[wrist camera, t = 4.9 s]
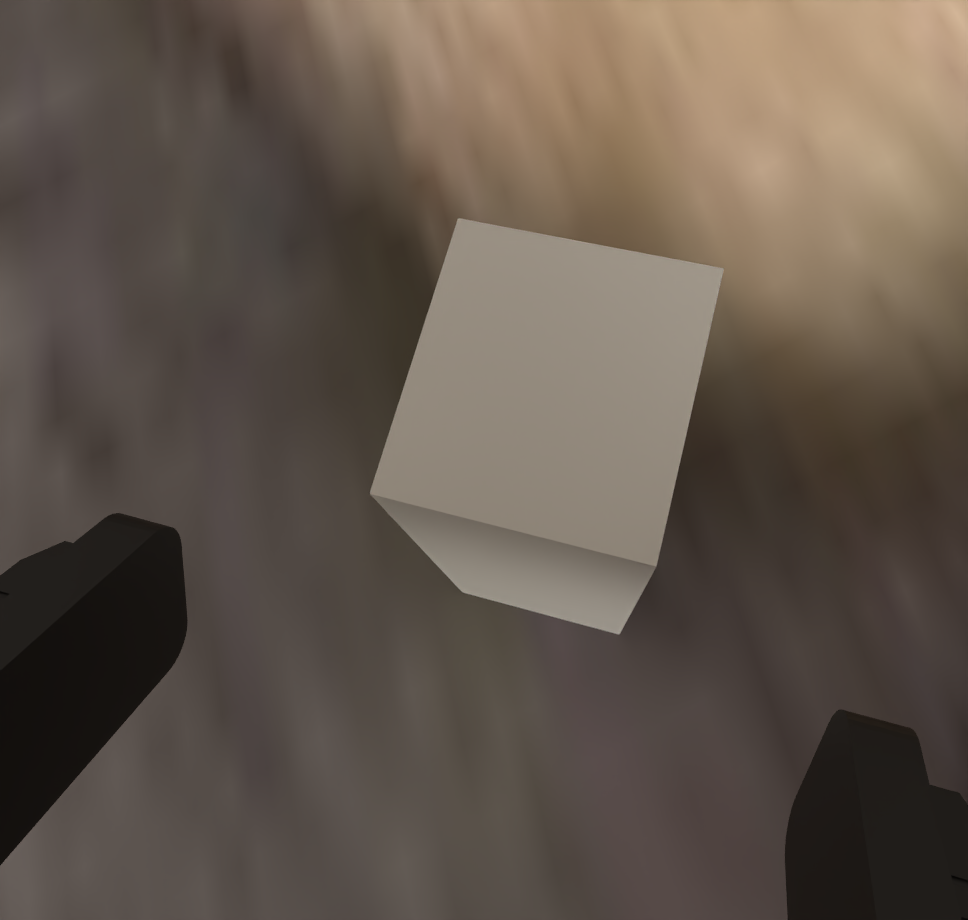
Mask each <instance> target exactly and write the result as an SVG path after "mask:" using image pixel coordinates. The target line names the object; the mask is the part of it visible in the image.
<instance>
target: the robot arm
mask: <svg viewBox="0 0 968 920" xmlns="http://www.w3.org/2000/svg"><path fill="white" fill-rule="evenodd" d="M186 631H187V609H186V596H185V584H184V571H183V558H182V546H181V539H180V536H179V534H178V532H177V531H176V530H175V529H174V528H172V527H169V526H165V525H162V524H158V523H154V522H150V521H147V520H143V519H139V518H136V517H132V516H128V515H124V514H120V513H116V514H112V515H109V516H107V517H106V518H104V519H103V520H102V521H100V522H99V523H98V524H97V525H95V526H94V527H93V528H92V529H90V530H89V531H88V532H87V533H85V534H84V535H83V536H82V537H80V538H79V539H78V540H77V541H75V542H74V543H70V542H67V541H64V542H62V543H59V544H57V545H55V546H52V547H50V548H48V549H45V550H43V551H41V552H38V553H36V554H34V555H31V556H29V557H27V558H24V559H22V560H20V561H19V562H17V563H16V564H15V565H13V566H12V567H11V568H10V569H8V570H7V571H6V572H4V573H3V574H2V575H0V865H1V864H2V863H3V862H4V860H5V859H6V858H7V857H8V856H9V855H10V853H11V852H12V851H13V850H14V849H15V848H16V847H17V845H18V844H19V843H20V842H21V841H22V840H23V838H24V837H25V836H26V835H27V834H28V833H29V832H30V830H31V829H32V828H33V827H34V826H35V825H36V823H37V822H38V821H39V820H40V819H41V818H42V817H43V815H44V814H45V813H46V812H47V811H48V810H49V808H50V807H51V806H52V805H53V804H54V803H55V802H56V800H57V799H58V798H59V797H60V796H61V795H62V793H63V792H64V791H65V790H66V789H67V788H68V787H69V785H70V784H71V783H72V782H73V781H74V780H75V778H76V777H77V776H78V775H79V774H80V773H81V772H82V770H83V769H84V768H85V767H86V766H87V765H88V763H89V762H90V761H91V760H92V759H93V758H94V757H95V755H96V754H97V753H98V752H99V751H100V750H101V749H102V747H103V746H104V745H105V744H106V743H107V742H108V740H109V739H110V738H111V737H112V736H113V735H114V734H115V732H116V731H117V730H118V729H119V728H120V727H121V725H122V724H123V723H124V722H125V721H126V720H127V719H128V717H129V716H130V715H131V714H132V713H133V712H134V710H135V709H136V708H137V707H138V706H139V705H140V704H141V702H142V701H143V700H144V699H145V698H146V697H147V695H148V694H149V693H150V692H151V691H152V690H153V689H154V687H155V686H156V685H157V684H158V683H159V682H160V680H161V679H162V678H163V677H164V676H165V675H166V674H167V672H168V671H169V670H170V669H171V667H172V666H173V664H174V663H175V661H176V659H177V658H178V656H179V653H180V651H181V649H182V646H183V643H184V640H185V636H186ZM785 869H786V890H787V912H788V920H968V805H967V803H966V802H965V800H964V799H963V798H962V796H961V795H960V793H957V792H954V791H950V790H946V789H943V788H939V787H936V786H932V785H929V780H928V776H927V772H926V768H925V764H924V759H923V755H922V751H921V747H920V743H919V739H918V737H917V735H916V733H915V732H914V730H913V729H911V728H908V727H904V726H900V725H897V724H893V723H889V722H886V721H882V720H878V719H874V718H871V717H867V716H863V715H860V714H856V713H852V712H848V711H845V710H838V711H836V713H835V714H834V715H833V716H832V718H831V720H830V722H829V724H828V726H827V728H826V731H825V733H824V735H823V737H822V740H821V742H820V744H819V746H818V748H817V751H816V753H815V755H814V757H813V760H812V762H811V764H810V766H809V769H808V771H807V773H806V775H805V778H804V780H803V782H802V784H801V787H800V789H799V791H798V793H797V795H796V798H795V800H794V803H793V806H792V809H791V813H790V817H789V822H788V828H787V834H786V844H785Z"/></svg>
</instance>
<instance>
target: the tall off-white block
mask: <svg viewBox="0 0 968 920" xmlns="http://www.w3.org/2000/svg"><path fill="white" fill-rule="evenodd" d="M723 270H724V268H719V267H714V266H709V265H704V264H698V263H693V262H688V261H682V260H677V259H672V258H667V257H661V256H656V255H651V254H645V253H640V252H635V251H630V250H624V249H619V248H614V247H609V246H603V245H598V244H593V243H587V242H582V241H577V240H572V239H566V238H561V237H556V236H550V235H545V234H540V233H535V232H529V231H524V230H519V229H513V228H508V227H503V226H498V225H492V224H487V223H482V222H477V221H471V220H466V219H461V218H458V220H457V223H456V226H455V230H454V233H453V236H452V239H451V242H450V245H449V248H448V251H447V254H446V258H445V261H444V264H443V267H442V270H441V273H440V276H439V279H438V282H437V286H436V289H435V292H434V295H433V298H432V301H431V304H430V307H429V310H428V313H427V317H426V320H425V323H424V326H423V329H422V332H421V335H420V338H419V341H418V345H417V348H416V351H415V354H414V357H413V360H412V363H411V366H410V369H409V373H408V376H407V379H406V382H405V385H404V388H403V391H402V394H401V397H400V401H399V404H398V407H397V410H396V413H395V416H394V419H393V422H392V425H391V429H390V432H389V435H388V438H387V441H386V444H385V447H384V450H383V453H382V456H381V460H380V463H379V466H378V469H377V472H376V475H375V478H374V481H373V484H372V488H371V491H370V495H371V496H372V497H373V498H374V499H375V500H376V501H377V502H378V503H379V504H380V505H381V507H382V508H383V509H384V510H385V511H386V512H387V513H388V514H389V515H390V516H391V517H392V518H393V519H394V520H395V521H396V522H397V523H398V525H399V526H400V527H401V528H402V529H403V530H404V531H405V532H406V533H407V534H408V535H409V536H410V537H411V538H412V539H413V540H414V542H415V543H416V544H417V545H418V546H419V547H420V548H421V549H422V550H423V551H424V552H425V553H426V554H427V555H428V556H429V557H430V559H431V560H432V561H433V562H434V563H435V564H436V565H437V566H438V567H439V568H440V569H441V570H442V571H443V572H444V573H445V574H446V575H447V577H448V578H449V579H450V580H451V581H452V582H453V583H454V584H455V585H456V586H457V587H458V588H459V589H460V590H461V591H462V592H463V593H467V594H470V595H474V596H478V597H482V598H485V599H489V600H493V601H496V602H500V603H504V604H508V605H511V606H515V607H519V608H522V609H526V610H530V611H533V612H537V613H541V614H545V615H548V616H552V617H556V618H559V619H563V620H567V621H571V622H574V623H578V624H582V625H585V626H589V627H593V628H596V629H600V630H604V631H608V632H611V633H615V634H620V633H621V631H622V629H623V627H624V625H625V623H626V621H627V620H628V618H629V616H630V614H631V612H632V610H633V609H634V607H635V605H636V603H637V601H638V599H639V598H640V596H641V594H642V592H643V590H644V588H645V587H646V585H647V583H648V581H649V579H650V577H651V576H652V574H653V572H654V570H655V568H656V566H657V562H658V557H659V553H660V548H661V544H662V540H663V535H664V531H665V526H666V522H667V517H668V513H669V509H670V504H671V500H672V495H673V491H674V487H675V482H676V478H677V473H678V469H679V465H680V460H681V456H682V451H683V447H684V442H685V438H686V434H687V429H688V425H689V420H690V416H691V412H692V407H693V403H694V398H695V394H696V389H697V385H698V381H699V376H700V372H701V367H702V363H703V359H704V354H705V350H706V345H707V341H708V337H709V332H710V328H711V323H712V319H713V314H714V310H715V306H716V301H717V297H718V292H719V288H720V284H721V279H722V275H723Z"/></svg>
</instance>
